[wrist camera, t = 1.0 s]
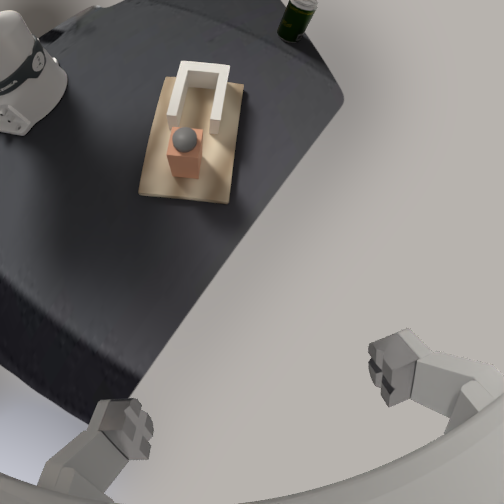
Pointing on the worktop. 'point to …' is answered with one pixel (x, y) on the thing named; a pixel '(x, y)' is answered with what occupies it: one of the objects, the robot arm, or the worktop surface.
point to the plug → (185, 152)
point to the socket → (198, 78)
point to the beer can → (296, 19)
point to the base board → (213, 148)
